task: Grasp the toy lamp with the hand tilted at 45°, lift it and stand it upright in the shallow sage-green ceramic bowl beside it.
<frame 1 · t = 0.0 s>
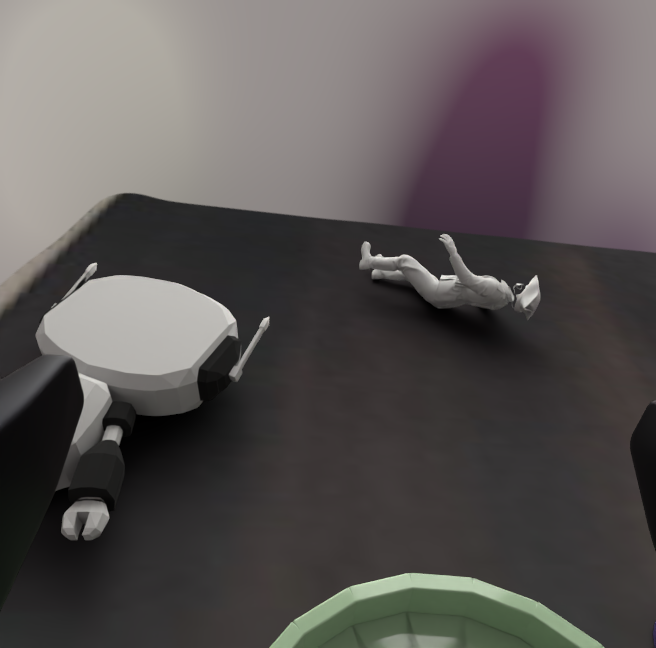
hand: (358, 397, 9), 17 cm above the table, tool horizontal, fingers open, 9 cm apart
white figurine: (438, 306, 41), on the table
robot toy: (109, 417, 31), on the table
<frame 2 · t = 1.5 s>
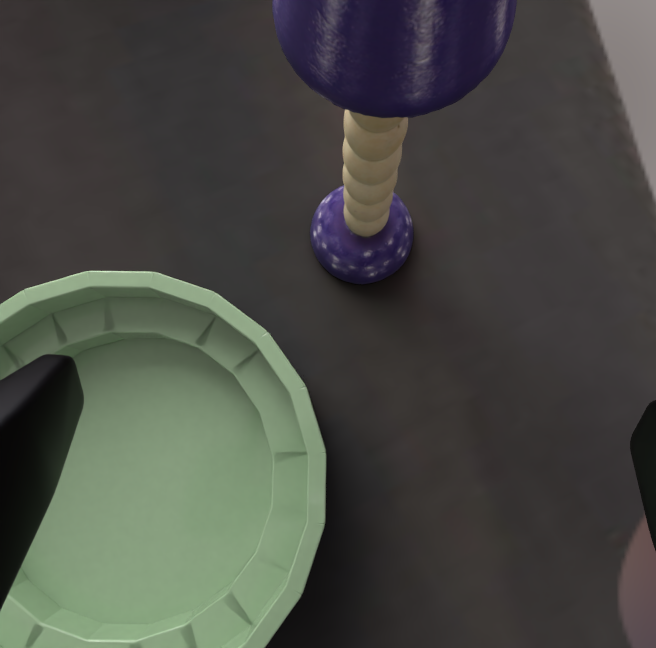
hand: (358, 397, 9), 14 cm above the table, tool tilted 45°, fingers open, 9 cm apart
toy lamp: (357, 229, 24), on the table
bowl: (141, 474, 22), on the table
when the fingers open (9 cm above the table, at t = 10.7 s): toy lamp stays where it is, resting on bowl.
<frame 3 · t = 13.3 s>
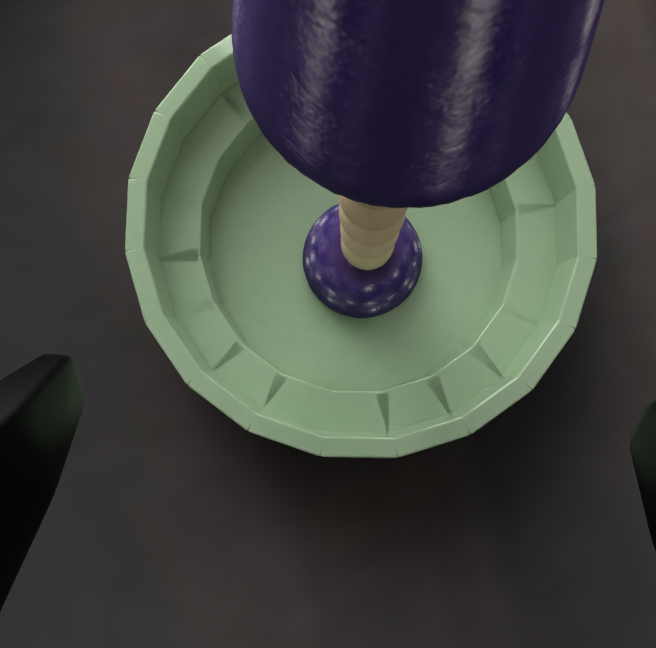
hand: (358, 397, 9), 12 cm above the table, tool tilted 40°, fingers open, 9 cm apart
toy lamp: (357, 251, 21), resting on bowl
bowl: (355, 246, 21), on the table
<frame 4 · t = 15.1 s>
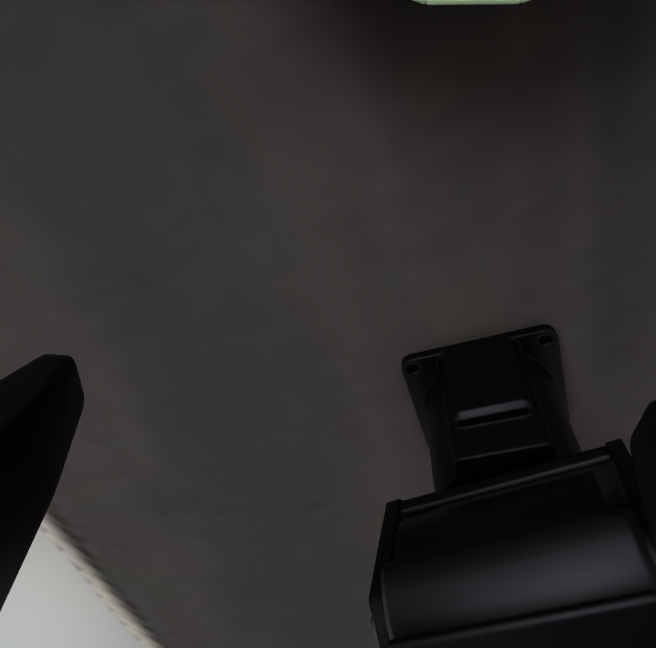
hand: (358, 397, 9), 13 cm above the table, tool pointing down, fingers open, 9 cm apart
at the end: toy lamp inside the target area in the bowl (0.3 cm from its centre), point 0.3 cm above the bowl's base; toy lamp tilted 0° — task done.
